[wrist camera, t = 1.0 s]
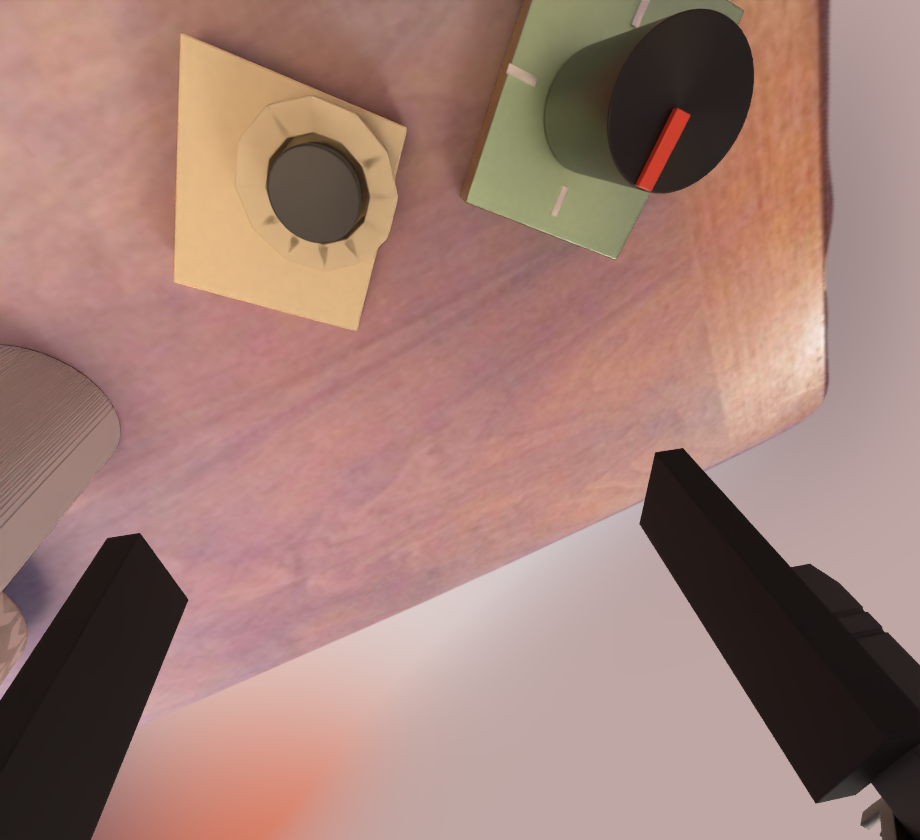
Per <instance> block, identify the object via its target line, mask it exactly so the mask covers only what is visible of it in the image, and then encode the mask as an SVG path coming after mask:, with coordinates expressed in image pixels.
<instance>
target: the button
mask: <svg viewBox="0 0 920 840" xmlns="http://www.w3.org/2000/svg"><path fill="white" fill-rule="evenodd" d="M267 189H268V196H269V201H270V204H271V207H272V209H273V211H274V213H275V215H276V216H277V218H278V219H279V221H280V222H281V223H282V224H283V225H284V226H285V228H287V229H288V230H289V231H290V232H291V233H293V234H294V235H296V236H297V237H299V238H301V239H304V240H306V241H309V242H313V243H329V242H333V241H336V240H338V239H340V238H342V237H343V236H345V235H346V234H347V233H348V232H349V231H350V230H351V229H352V228H353V226H354V225H355V223H356V221H357V219H358V216H359V213H360V209H361V204H362V187H361V183H360V180H359V177H358V174H357V172H356V170H355V168H354V167H353V165H352V164H351V163H350V161H349V160H348V159H347V158H346V157H345V156H344V155H343V154H342V153H341V152H339V151H338V150H336V149H335V148H333V147H331V146H329V145H326V144H323V143H318V142H307V143H302V144H298V145H295V146H292V147H290V148H288V149H286V150H285V151H283V152H282V153H281V154H280V155H279V156H278V157H277V158H276V159H275V161H274V162H273V164H272V166H271V168H270V171H269V175H268V183H267Z"/></svg>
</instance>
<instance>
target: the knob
mask: <svg viewBox="0 0 920 840" xmlns="http://www.w3.org/2000/svg"><path fill="white" fill-rule="evenodd" d="M753 85H754V66H753V58H752V54H751V49H750V46H749V44H748V41H747V39H746V37H745V35H744V33H743V32H742V30H741V29H740V28H739V26H738V25H737V24H736V23H735V22H734V21H733V20H732V19H730V18H729V17H728V16H726V15H724V14H722V13H720V12H718V11H715V10H711V9H701V8H698V9H690V10H686V11H683V12H679V13H676V14H674V15H671V16H668V17H665V18H663V19H660V20H657V21H654V22H652V23H649V24H646V25H643V26H641V27H638V28H635V29H632V30H630V31H627V32H624V33H622V34H619V35H616V36H613V37H611V38H608V39H605V40H602V41H600V42H597V43H594V44H591V45H589V46H587V47H585V48H583V49H581V50H580V51H578V52H577V53H575V54H574V55H573V56H572V57H571V58H570V59H569V60H568V61H567V62H566V63H565V64H564V65H563V67H562V68H561V70H560V71H559V72H558V74H557V76H556V78H555V79H554V81H553V84H552V86H551V88H550V91H549V94H548V97H547V102H546V106H545V133H546V137H547V141H548V144H549V147H550V149H551V151H552V153H553V154H554V156H555V157H556V159H557V160H558V161H559V162H560V163H561V164H562V165H563V166H564V167H566V168H567V169H569V170H571V171H573V172H576V173H579V174H582V175H586V176H590V177H593V178H597V179H601V180H604V181H608V182H612V183H616V184H619V185H623V186H627V187H630V188H634V189H638V190H641V191H645V192H650V193H670V192H674V191H678V190H681V189H683V188H686V187H688V186H690V185H692V184H694V183H695V182H697V181H699V180H700V179H701V178H703V177H704V176H705V175H707V174H708V173H709V172H710V171H711V170H712V169H713V168H715V167H716V166H717V164H718V163H719V162H720V161H721V160H722V159H723V158H724V156H725V155H726V154H727V152H728V151H729V150H730V148H731V147H732V145H733V144H734V142H735V140H736V139H737V137H738V135H739V133H740V131H741V129H742V127H743V124H744V122H745V119H746V117H747V113H748V110H749V107H750V103H751V98H752V93H753Z"/></svg>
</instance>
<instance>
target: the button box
mask: <svg viewBox="0 0 920 840" xmlns="http://www.w3.org/2000/svg"><path fill="white" fill-rule="evenodd" d="M406 133H407V127H405V126H403V125H400V124H398V123H396V122H393V121H391V120H388V119H386V118H384V117H381V116H379V115H377V114H374V113H372V112H369V111H367V110H365V109H362V108H360V107H358V106H355V105H353V104H350V103H348V102H346V101H343V100H341V99H339V98H336V97H334V96H331V95H329V94H327V93H324V92H322V91H320V90H317V89H315V88H312V87H310V86H308V85H305V84H303V83H301V82H298V81H296V80H293V79H291V78H289V77H286V76H284V75H282V74H279V73H277V72H274V71H272V70H270V69H267V68H265V67H263V66H260V65H258V64H255V63H253V62H251V61H248V60H246V59H244V58H241V57H239V56H236V55H234V54H232V53H229V52H227V51H225V50H222V49H220V48H217V47H215V46H213V45H210V44H208V43H206V42H203V41H201V40H198V39H196V38H194V37H191V36H189V35H187V34H184V33H181V34H180V59H179V96H178V134H177V171H176V209H175V246H174V282H175V283H178V284H181V285H185V286H189V287H193V288H196V289H200V290H204V291H208V292H211V293H215V294H219V295H222V296H226V297H230V298H234V299H237V300H241V301H245V302H249V303H252V304H256V305H260V306H263V307H267V308H271V309H275V310H278V311H282V312H286V313H290V314H293V315H297V316H301V317H305V318H308V319H312V320H316V321H319V322H323V323H327V324H331V325H334V326H338V327H342V328H346V329H349V330H353V331H357V329H358V325H359V321H360V317H361V313H362V309H363V305H364V301H365V297H366V293H367V289H368V285H369V281H370V277H371V273H372V269H373V265H374V261H375V257H376V253H377V249H378V247H379V246H380V245H381V244H382V243H383V242H384V241H385V240H386V239H387V238H388V236H389V232H390V229H391V225H392V221H393V217H394V213H395V209H396V205H397V201H398V193H397V189H396V185H395V177H396V173H397V169H398V165H399V161H400V157H401V153H402V149H403V145H404V141H405V137H406ZM307 142H318V143H323V144H326V145H329V146H331V147H333V148H335V149H336V150H338V151H339V152H341V153H342V154H343V155H344V156H345V157H346V158H347V159H348V160H349V161H350V163H351V164H352V165H353V167H354V168H355V170H356V172H357V174H358V177H359V180H360V183H361V187H362V204H361V209H360V213H359V216H358V219H357V221H356V223H355V225H354V226H353V228H352V229H351V230H350V231H349V232H348V233H347V234H346V235H345V236H343V237H342V238H340V239H338V240H336V241H333V242H329V243H313V242H309V241H306V240H304V239H301V238H299V237H297V236H296V235H294V234H293V233H291V232H290V231H289V230H288V229H287V228H285V226H284V225H283V224H282V223H281V222H280V221H279V219H278V218H277V216H276V215H275V213H274V211H273V209H272V207H271V204H270V201H269V196H268V189H267V183H268V175H269V171H270V168H271V166H272V164H273V162H274V161H275V159H276V158H277V157H278V156H279V155H280V154H281V153H282V152H283V151H285V150H286V149H288V148H290V147H292V146H295V145H298V144H302V143H307Z"/></svg>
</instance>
